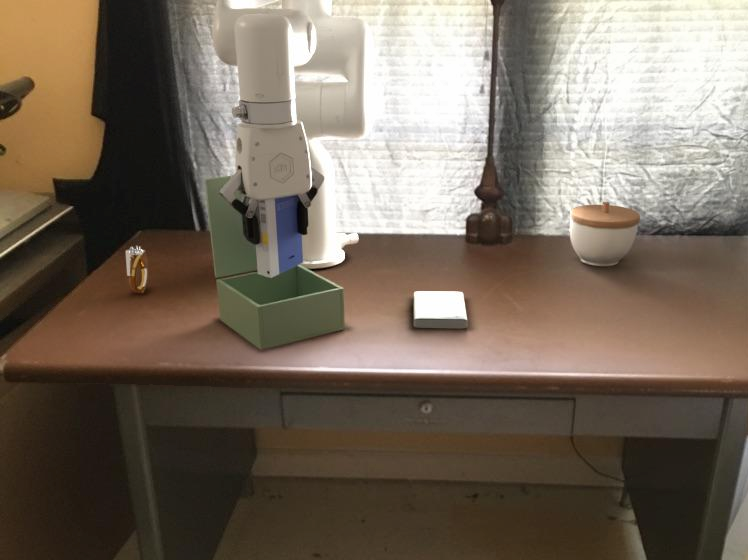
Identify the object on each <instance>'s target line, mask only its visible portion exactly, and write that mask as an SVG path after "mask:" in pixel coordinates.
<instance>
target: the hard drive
mask: <svg viewBox="0 0 748 560" xmlns="http://www.w3.org/2000/svg"><path fill="white" fill-rule="evenodd" d="M413 327H414V328H418V329H466V328H468V316H467V309H466V303H465V297H464V293H463V291H440V290H439V291H437V290H436V291H431V290H429V291H426V290H425V291H424V290H421V291H420V290H419V291H414V292H413Z"/></svg>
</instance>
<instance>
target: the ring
mask: <svg viewBox="0 0 748 560" xmlns="http://www.w3.org/2000/svg"><path fill="white" fill-rule="evenodd" d="M134 258H135V259H134ZM132 259H134V261H133V264H132ZM125 263H126V265H125V266H126V277H127V282H128V286H129V287H130V288H129V289H130V290H131V291H132V292H133V293H135V294H136V293H137V294H144V293H145V290H146V289H147V287H148V283H149V275H150V274H149V273H150V272H149V261H148V257H147V252H146V250H145V249H142V246H141V245H135V247H134V246H130V247H129V249H126V250H125ZM138 266H140V269H141V282H140V285H137V272H138Z"/></svg>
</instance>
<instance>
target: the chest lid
mask: <svg viewBox="0 0 748 560" xmlns="http://www.w3.org/2000/svg"><path fill="white" fill-rule="evenodd" d="M233 175H234V174H233ZM233 175H232V174H231V175H224V176H223V175H222V176H216V177H209V178H204V180H203V181H204V189H205V199H206V207H207V216H208V227H209V235H210V243H211V251H212V260H213V262H212V263H213V269H214V271H213V272H214V278H217V279H218V278H223V277H229V276H232V275H233V276H235V275H240V274H245V273H250V272H255V271H258V269H257V256H256V245H254V244H253V243H251V242H249V241H247V239H246V238H245V236H244V233H243V222H242V214H240V213H239V212H238V211H237V210H236V209H234V208H233V207H232V206H231V205H230V204H229V203H228V202H227V201H226V200H225V199H224V198H223V197H222V196H221V195H220V189H221V188H222V187H223V186H224V185H225V184H226V183H227V182H228V181H229V179H230V178H231V177H232V176H233ZM234 194H235V196H236V197H237V198H238V200H240V201H241V200H242V197H243V195H244V194H241V193H240V192H239V191H238V188H237V190H236V191H235V193H234Z"/></svg>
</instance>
